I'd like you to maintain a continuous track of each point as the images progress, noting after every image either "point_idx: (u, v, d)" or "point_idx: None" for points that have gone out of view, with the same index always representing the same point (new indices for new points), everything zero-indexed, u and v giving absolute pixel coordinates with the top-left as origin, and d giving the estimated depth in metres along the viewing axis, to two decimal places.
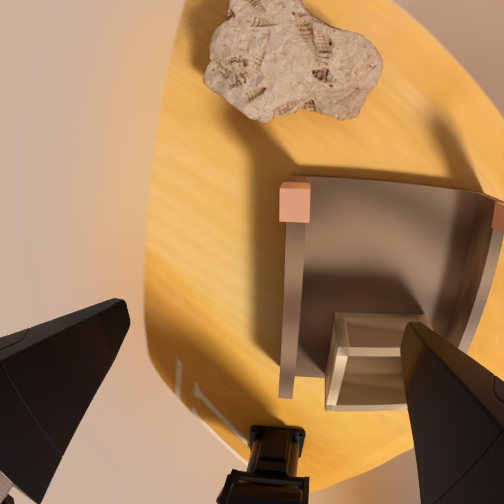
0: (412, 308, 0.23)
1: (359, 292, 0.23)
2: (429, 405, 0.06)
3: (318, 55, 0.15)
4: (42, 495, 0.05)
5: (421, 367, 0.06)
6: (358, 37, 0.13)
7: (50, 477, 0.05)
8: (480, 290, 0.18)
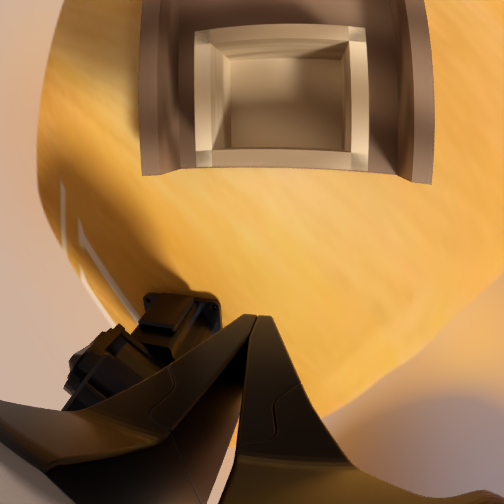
0: None
1: None
2: None
3: None
4: None
5: None
6: None
7: None
8: None
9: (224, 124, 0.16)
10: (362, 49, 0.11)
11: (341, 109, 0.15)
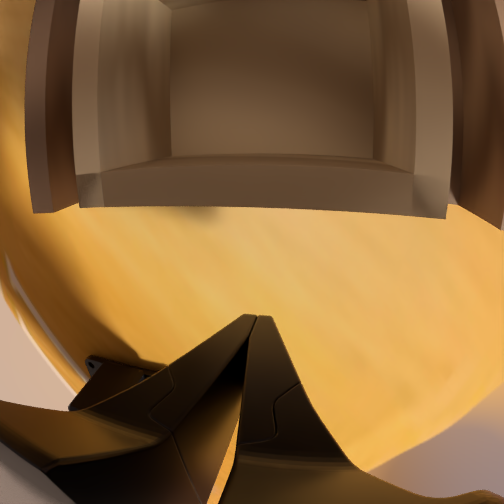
0: None
1: None
2: None
3: None
4: None
5: None
6: None
7: None
8: None
9: (148, 115, 0.08)
10: None
11: (372, 84, 0.08)
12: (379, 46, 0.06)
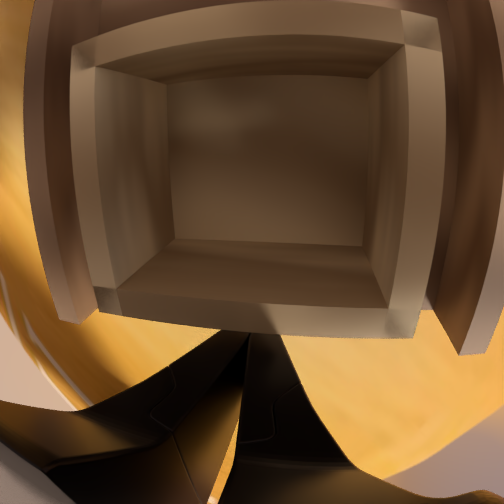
0: None
1: None
2: None
3: None
4: None
5: None
6: None
7: None
8: None
9: (152, 212, 0.09)
10: (434, 68, 0.04)
11: (366, 175, 0.09)
12: (376, 144, 0.07)
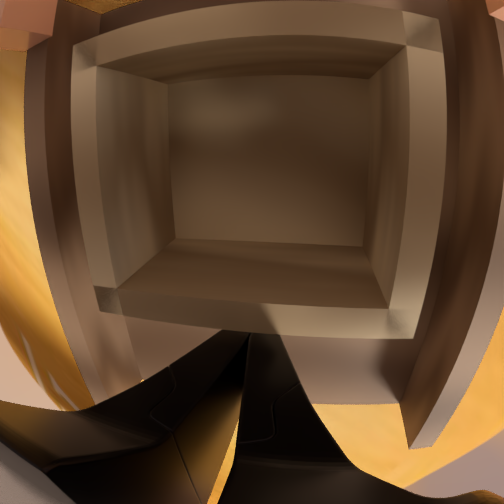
0: None
1: None
2: None
3: None
4: None
5: None
6: None
7: None
8: None
9: (152, 212, 0.09)
10: (436, 69, 0.04)
11: (367, 175, 0.09)
12: (377, 145, 0.07)
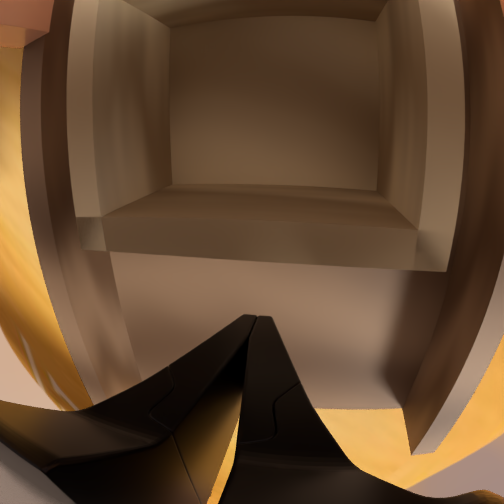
0: None
1: None
2: None
3: None
4: None
5: None
6: None
7: None
8: None
9: (148, 147, 0.08)
10: None
11: (378, 113, 0.08)
12: (388, 76, 0.06)
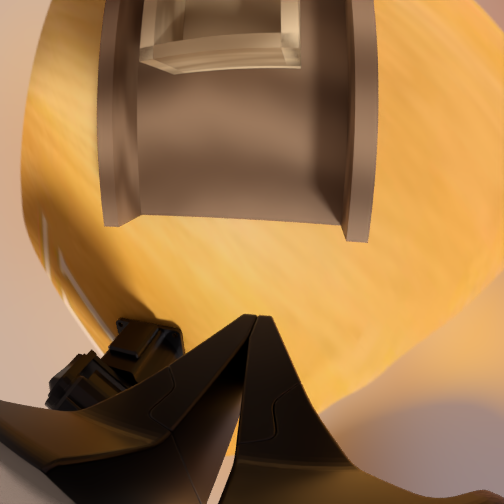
0: (278, 93, 0.16)
1: (200, 76, 0.17)
2: None
3: None
4: None
5: None
6: None
7: None
8: (358, 32, 0.12)
9: (173, 35, 0.14)
10: None
11: None
12: None
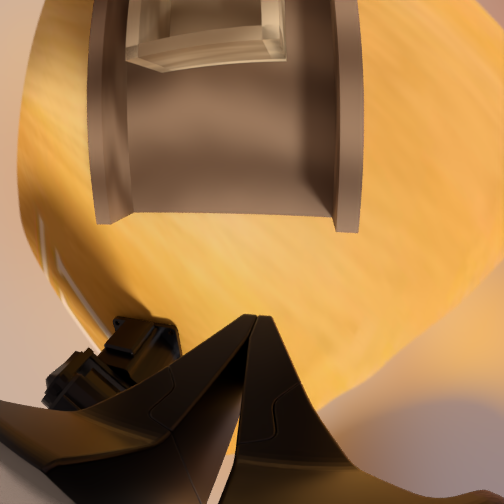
0: (265, 86, 0.16)
1: (187, 73, 0.17)
2: None
3: None
4: None
5: None
6: None
7: None
8: (340, 21, 0.12)
9: (159, 34, 0.14)
10: None
11: None
12: None
